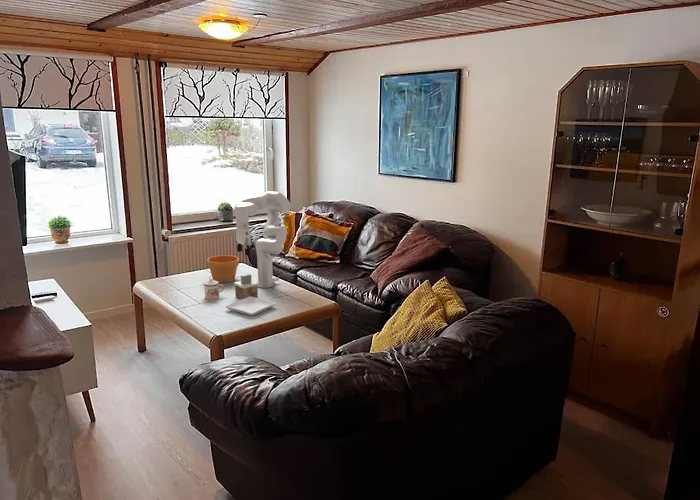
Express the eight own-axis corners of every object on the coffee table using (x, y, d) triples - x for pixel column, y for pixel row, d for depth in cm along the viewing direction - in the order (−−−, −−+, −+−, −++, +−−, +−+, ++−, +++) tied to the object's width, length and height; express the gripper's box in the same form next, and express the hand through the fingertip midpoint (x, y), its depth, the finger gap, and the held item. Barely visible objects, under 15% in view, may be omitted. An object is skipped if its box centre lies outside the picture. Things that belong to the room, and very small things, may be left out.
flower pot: (229, 273, 386) (228, 253, 383) (245, 280, 371) (244, 259, 368) (202, 279, 373) (201, 258, 369) (218, 286, 358) (216, 264, 354)
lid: (249, 281, 342) (249, 271, 340) (258, 285, 334) (258, 275, 332) (233, 284, 335) (233, 274, 333) (242, 288, 327) (242, 278, 325)
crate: (249, 293, 343) (249, 281, 341) (257, 297, 336) (257, 285, 334) (235, 296, 337) (235, 284, 335) (243, 300, 329) (243, 288, 328)
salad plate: (252, 318, 301) (251, 313, 301) (224, 311, 313) (224, 305, 312) (276, 308, 319) (276, 302, 318) (250, 301, 330) (249, 295, 329)
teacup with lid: (206, 300, 330) (205, 281, 327) (203, 295, 338) (202, 277, 335) (225, 297, 335) (225, 279, 333) (222, 293, 343) (221, 275, 341)
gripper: (255, 227, 321) (256, 255, 325) (241, 222, 334) (242, 249, 338) (243, 228, 317) (245, 257, 321) (230, 224, 329) (231, 251, 334)
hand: (243, 253), depth 330 cm, fingers open, 9 cm apart
